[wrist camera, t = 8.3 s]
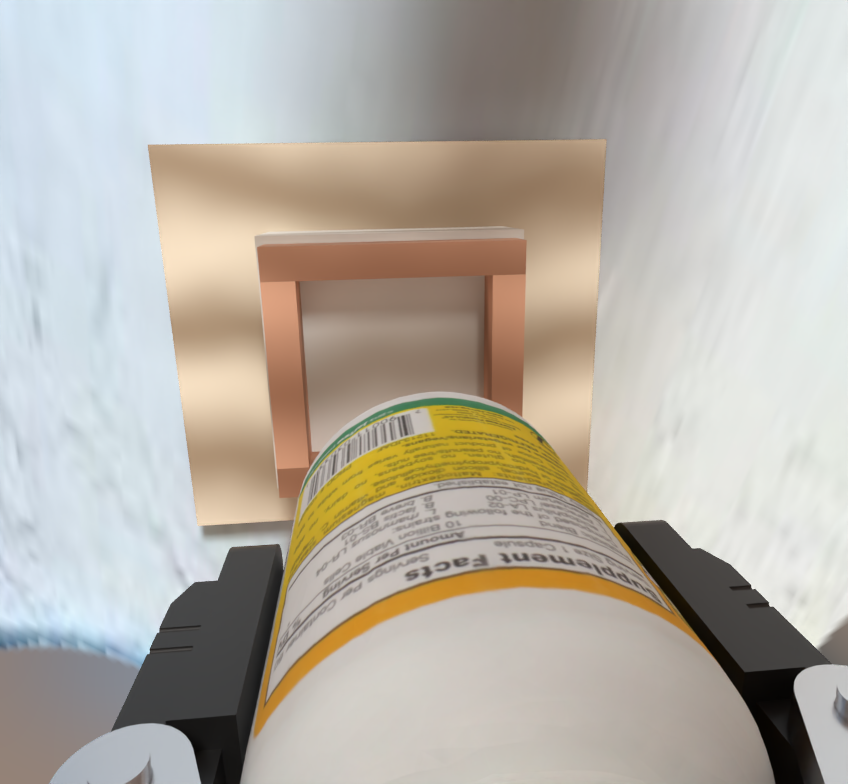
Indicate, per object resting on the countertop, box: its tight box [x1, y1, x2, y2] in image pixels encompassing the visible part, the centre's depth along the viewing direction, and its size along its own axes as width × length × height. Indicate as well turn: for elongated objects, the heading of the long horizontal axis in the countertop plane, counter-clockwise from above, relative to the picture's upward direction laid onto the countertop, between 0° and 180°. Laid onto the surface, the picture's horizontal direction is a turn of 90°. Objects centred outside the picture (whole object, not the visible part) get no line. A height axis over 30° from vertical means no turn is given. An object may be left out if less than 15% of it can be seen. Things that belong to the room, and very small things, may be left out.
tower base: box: [148, 139, 607, 526], centre depth 27 cm, size 17×19×7 cm
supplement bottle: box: [240, 392, 775, 784], centre depth 8 cm, size 5×5×10 cm
